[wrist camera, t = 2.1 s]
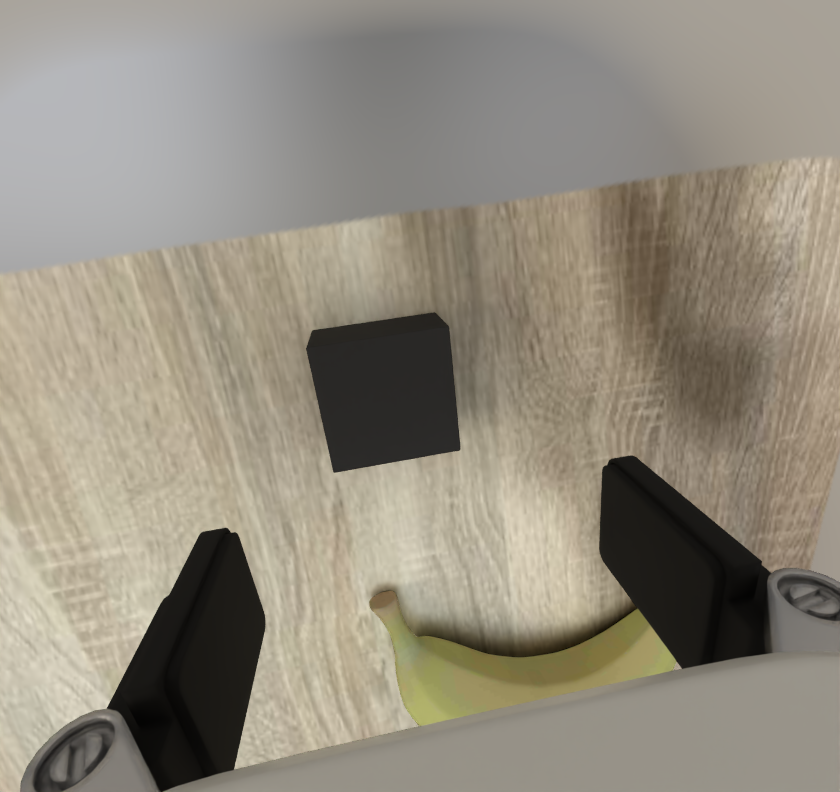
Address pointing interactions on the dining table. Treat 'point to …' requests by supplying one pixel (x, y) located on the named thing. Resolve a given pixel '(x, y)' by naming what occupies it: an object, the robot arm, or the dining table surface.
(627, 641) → the banana
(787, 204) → the dining table surface
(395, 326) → the black pad
